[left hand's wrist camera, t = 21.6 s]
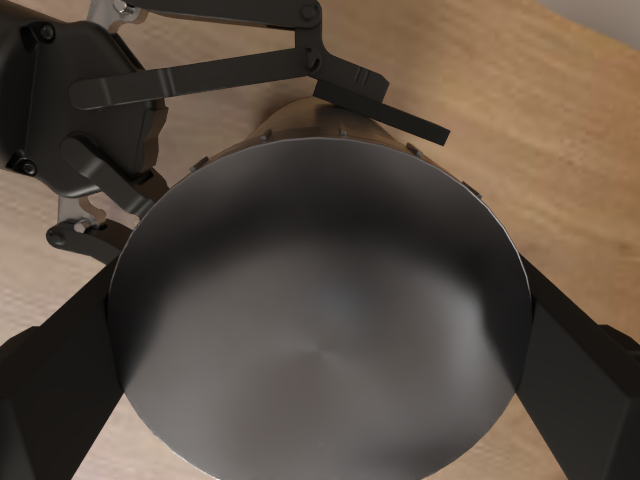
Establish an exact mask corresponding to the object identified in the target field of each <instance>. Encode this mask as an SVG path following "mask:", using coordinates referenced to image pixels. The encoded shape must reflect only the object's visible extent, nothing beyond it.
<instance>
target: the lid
mask: <svg viewBox="0 0 640 480" xmlns="http://www.w3.org/2000/svg"><path fill="white" fill-rule="evenodd" d="M190 171H191V173H189V174H188V175H187V176H186V177H184V178H183V179H182V180H181V181H179V182H178V183H177V184H175V185H174V186H173V187H172V188H170V189H169V190H168V191H167V192H166V193H165V194H164V195H163V196H162V197H161V198H160V199H159V200H158V201H157V202H156V203H155V204H154V205H153V206H152V207H151V208H150V209H149V210H148V211H147V212H146V213H144V214H143V215H142V216H141V217H140V219H139V220H140V222H139V223H138V225H137V226H136V227H135V229H134V230H133V231H132V233H131V235H130V237H129V239H128V240H127V242H126V244H125V246H124V248H123V250H122V252H121V254H120V256H119V259H118V261H117V264H116V267H115V270H114V273H113V276H112V279H111V284H110V290H109V296H108V302H107V329H108V334H109V339H110V344H111V349H112V354H113V359H114V363H115V368H116V373H117V377H118V380H119V382H120V384H121V386H122V388H123V390H124V392H125V395H126V397H127V398H128V400H129V402H130V403H131V405H132V406H133V408H134V409H135V411H136V412H137V414H138V416H139V417H140V418H141V419H142V421H143V422H144V423H145V424H146V425H147V427H148V428H149V429H150V430H151V431H152V432H153V434H154V435H155V436H156V437H157V438H159V439H160V440H161V441H162V442H163V443H164V444H165V445H166V446H167V447H168V448H169V449H170V450H172V451H173V452H174V453H176V454H177V455H178V456H180V457H181V458H182V459H184V460H185V461H186V462H188V463H189V464H191V465H192V466H194V467H196V468H198V469H199V470H201V471H203V472H204V473H206V474H208V475H210V476H212V477H214V478H216V479H218V480H421V479H423V478H425V477H427V476H430V475H432V474H434V473H435V472H437V471H439V470H440V469H442V468H444V467H445V466H447V465H448V464H450V463H452V462H453V461H455V460H456V459H457V458H459V457H460V456H461V455H463V454H464V453H465V452H466V451H468V450H469V449H470V448H472V447H473V446H474V445H475V444H476V443H477V442H478V441H479V440H480V439H481V438H482V437H483V436H484V435H485V434H486V433H487V432H488V431H489V430H490V429H491V427H492V426H493V425H494V423H495V422H496V421H497V420H498V418H499V417H500V416H501V415H502V413H503V412H504V410H505V409H506V407H507V405H508V404H509V402H510V400H511V399H512V397H513V395H514V394H515V392H516V390H517V387H518V385H519V383H520V380H521V378H522V375H523V371H524V366H525V361H526V356H527V351H528V346H529V341H530V336H531V331H532V326H533V312H532V298H531V293H530V288H529V283H528V278H527V274H526V271H525V269H524V266H523V263H522V261H521V258H520V255H519V253H518V250H517V249H516V247H515V245H514V243H513V242H512V240H511V238H510V236H509V234H508V233H507V231H506V229H505V227H504V226H503V225H502V224H501V222H500V221H499V220H498V219H497V217H496V216H495V215H494V214H493V212H492V211H491V210H490V209H489V207H488V206H487V205H486V204H485V203H484V202H483V201H482V200H481V198H482V196H481V195H480V194H479V193H478V192H477V191H475V190H474V189H473V188H472V187H470V186H469V185H468V184H466V183H465V182H464V181H462V182H460V181H459V180H458V179H457V178H455V177H454V176H453V175H452V174H450V173H449V172H448V171H446V170H445V169H444V168H442V167H441V166H439V165H438V164H437V163H435V162H434V161H432V160H431V159H429V158H428V157H426V156H425V155H424V154H423V153H422V152H421V151H420V150H418V149H417V148H416V147H415V146H413V145H412V144H410V143H407V145H404V144H402V143H400V142H397V141H394V140H391V139H388V138H385V137H382V136H379V135H376V134H373V133H368V132H363V131H358V130H352V129H347V128H345V127H344V125H343V124H339V127H338V128H334V127H306V128H293V129H286V130H281V131H277V132H272V130H271V129H268V130H266V131H265V132H264V134H263V135H260V136H257V137H254V138H251V139H249V140H246V141H243V142H241V143H238V144H235V145H233V146H232V147H230V148H228V149H226V150H224V151H222V152H220V153H218V154H217V155H215V156H213V157H211V158H210V159H208V157H207V156H206V157H205V158H203V159H202V160H200V161H199V162H198V163H196V164H195V165H194V166H192V167H191V168H190Z"/></svg>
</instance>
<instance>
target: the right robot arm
mask: <svg viewBox="0 0 640 480" xmlns="http://www.w3.org/2000/svg"><path fill="white" fill-rule="evenodd" d="M148 12H152V13H155V14H158V15H161V16H165V17H170V18H177V19H186V20H195V21H205V22H214V23H223V24H232V25H241V26H251V27H260V28H269V29H278V30H288V31H295V48H292V49H286V50H279V51H273V52H267V53H260V54H254V55H247V56H241V57H235V58H228V59H222V60H215V61H209V62H203V63H196V64H190V65H183V66H177V67H171V68H161V69H154V70H147V71H146V70H145V69H144V67H143V66H142V65H141V63H140V62H139V61H138V59H137V58H136V57H135V56H134V54H133V53H132V52H131V50H130V49H129V48H128V46H127V45H126V44H125V42H124V41H123V40H122V38H121V37H120V36H119V35H118V34H117V31H118V28H119V27H120V26H121V25H123V24H125V23H131V24H141V23H143V22H144V21H145V20H146V18H147V16H148ZM303 76H309V77H312V78H314V79H317V80H318V81H317V84H316V87H315V90H314V93H313V96H314V97H316V98H319V99H322V100H324V101H327V102H329V103H332V104H335V105H337V106H340V107H343V108H345V109H348V110H350V111H353V112H356V113H358V114H361V115H363V116H366V117H369V118H371V119H374V120H376V121H379V122H382V123H384V124H387V125H389V126H392V127H395V128H397V129H400V130H402V131H405V132H408V133H410V134H413V135H415V136H418V137H421V138H423V139H426V140H428V141H431V142H434V143H436V144H439V145H441V146H444V144H445V142H446V140H447V138H448V136H449V133H450V130H448V129H445V128H443V127H441V126H439V125H437V124H434V123H432V122H429V121H427V120H424V119H421V118H419V117H416V116H414V115H411V114H409V113H406V112H403V111H401V110H398V109H396V108H393V107H391V106H388V105H386V104H383V103H382V101H383V98H384V96H385V93H386V91H387V88H388V86H389V82H388V81H387V80H386V79H385V78H384V77H383V76H382V75H381V74H378V73H375V72H373V71H370V70H368V69H365V68H363V67H360V66H358V65H355V64H353V63H350V62H348V61H345V60H343V59H340V58H338V57H335V56H333V55H331V54H330V53H329V52H328V51H327V50H326V49H325V47H324V45H323V42H322V8H321V6H320V4H319V2H318V1H317V0H92V1H91V5H90V9H89V13H88V17H87V21H78V22H72V23H67V22H63V21H61V20H58V19H55V18H53V17H50V16H47V15H45V14H42V13H39V12H37V11H34V10H31V9H29V8H26V7H24V6H21V5H18V4H16V3H13V2H10V1H8V0H0V169H3V170H6V171H10V172H14V173H18V174H22V175H27V176H30V177H34V178H36V179H38V180H40V181H41V182H43V183H44V184H45V185H47V186H48V187H49V188H50V189H51V190H52V191H53V192H55V193H56V194H58V195H59V205H58V223H57V225H55V226H53V227H51V228H50V229H49V230H48V231H47V233H46V238H47V241H48V242H49V244H50V245H51V246H53V247H55V248H57V249H61V250H66V251H70V252H75V253H79V254H83V255H88V256H91V257H93V258H95V259H96V260H98V261H100V262H102V263H104V264H105V265H108V264H109V263H110V262H111V261H112V260H113V259H114V258H115V257H116V256H117V255H119V254H120V253H121V252H122V250H123V248H124V246H125V244H126V242H127V240H128V239H129V237H130V235H131V233H132V231H133V230H131V229H130V228H128V227H126V226H124V225H122V224H120V223H118V222H115V221H113V220H109V219H106V213H105V211H104V210H102V209H98V208H96V207H94V206H93V205H91V204H90V202H89V200H88V197H87V196H88V195H91V194H94V193H98V192H101V191H103V192H104V193H105V194H107V195H108V196H109V197H110V198H111V199H112V200H113V201H114V202H115V203H116V204H117V205H119V206H120V207H121V208H122V209H123V210H124V211H126V212H128V213H131V214H135V215H137V216H138V217H139V218H140V217H141V216H142V215H143V214H144V213H146V212H147V211H148V210H149V209H150V208H151V207H152V206H153V205H154V204H155V203H156V202H157V201H158V200H159V199H160V198H161V197H162V196H163V195H164V194H165V193H166V192H167V191H168V190H169V188H168V186H167V183H166V181H165V179H164V178H163V177H162V176H161V175H160V174H159V173H158V172H157V171H156V170H155V169H154V168H153V166H155V165H156V160H157V156H158V152H159V149H158V135H159V133H160V131H161V129H162V127H163V126H164V124H165V122H166V117H167V113H168V109H169V108H168V107H165V101H164V98H166V97H173V96H179V95H186V94H192V93H199V92H205V91H212V90H218V89H225V88H231V87H238V86H245V85H251V84H258V83H264V82H271V81H277V80H284V79H290V78H297V77H303Z"/></svg>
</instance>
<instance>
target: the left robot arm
mask: <svg viewBox="0 0 640 480" xmlns="http://www.w3.org/2000/svg"><path fill="white" fill-rule="evenodd" d="M518 253H519V252H518ZM120 254H121V253H120ZM120 254H119V255H117V256H116V257H115V258H114V259H113V260H112V261H111V262H110V263H109V264H108V265H106V266H105V267H104V268H103V269H102V270H101V271H100V272H99V273H98V274H97V275H96V276H94V277H93V278H92V279H91V280H90V281H89V282H88V283H87V284H86V285H85V286H84V287H82V288H81V289H80V290H79V291H78V292H77V293H76V294H75V295H74V296H73V297H71V298H70V299H69V300H68V301H67V302H66V303H65V304H64V305H63V306H62V307H61V308H59V309H58V310H57V311H56V312H55V313H54V314H53V315H52V316H51V317H50V318H48V319H47V320H46V321H45V322H44V323H43V324H42V325H41V326H32V327H30V328H28V329H27V330H25V331H23V332H21V333H19V334H17V335H15V336H14V337H12V338H10V339H9V340H7V341H6V342H5V343H4V344H3V345H2V346H0V480H71V479H72V477H73V476H74V474H75V472H76V471H77V469H78V467H79V466H80V464H81V462H82V461H83V459H84V458H85V456H86V454H87V453H88V451H89V449H90V448H91V446H92V444H93V443H94V441H95V439H96V438H97V436H98V434H99V433H100V431H101V430H102V428H103V426H104V425H105V423H106V421H107V420H108V418H109V416H110V415H111V413H112V411H113V410H114V408H115V407H116V405H117V403H118V402H119V400H120V398H121V397H122V395H123V393H124V390H123V388H122V386H121V384H120V382H119V380H118V377H117V373H116V368H115V363H114V359H113V354H112V349H111V344H110V339H109V334H108V329H107V302H108V296H109V290H110V284H111V279H112V276H113V273H114V270H115V267H116V264H117V261H118V259H119V256H120ZM519 255H520V258H521V261H522V263H523V266H524V269H525V271H526V274H527V278H528V283H529V288H530V293H531V298H532V312H533V326H532V331H531V336H530V341H529V346H528V351H527V356H526V361H525V366H524V371H523V375H522V378H521V380H520V383H519V385H518V387H517V390H516V394H517V396H518V397H519V399H520V401H521V402H522V404H523V406H524V407H525V409H526V411H527V412H528V414H529V416H530V417H531V419H532V420H533V422H534V424H535V425H536V427H537V429H538V430H539V432H540V434H541V435H542V437H543V439H544V440H545V442H546V444H547V445H548V447H549V448H550V450H551V452H552V453H553V455H554V457H555V458H556V460H557V462H558V463H559V465H560V467H561V468H562V470H563V472H564V473H565V475H566V476H567V478H568V480H640V345H639V344H638V343H637V342H636V341H634V340H633V339H632V338H631V337H629V336H627V335H626V334H624V333H622V332H620V331H618V330H616V329H614V328H612V327H611V326H609V325H598V324H596V323H595V322H594V321H593V320H592V319H591V318H590V317H589V316H588V315H587V314H586V313H584V312H583V311H582V310H581V309H580V308H579V307H578V306H577V305H576V304H575V303H573V302H572V301H571V300H570V299H569V298H568V297H567V296H566V295H565V294H564V293H563V292H561V291H560V290H559V289H558V288H557V287H556V286H555V285H554V284H553V283H552V282H551V281H549V280H548V279H547V278H546V277H545V276H544V275H543V274H542V273H541V272H540V271H538V270H537V269H536V268H535V267H534V266H533V265H532V264H531V263H530V262H529V261H528V260H526V259H525V258H524V257H523V256H522V255H521V254H520V253H519Z"/></svg>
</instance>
